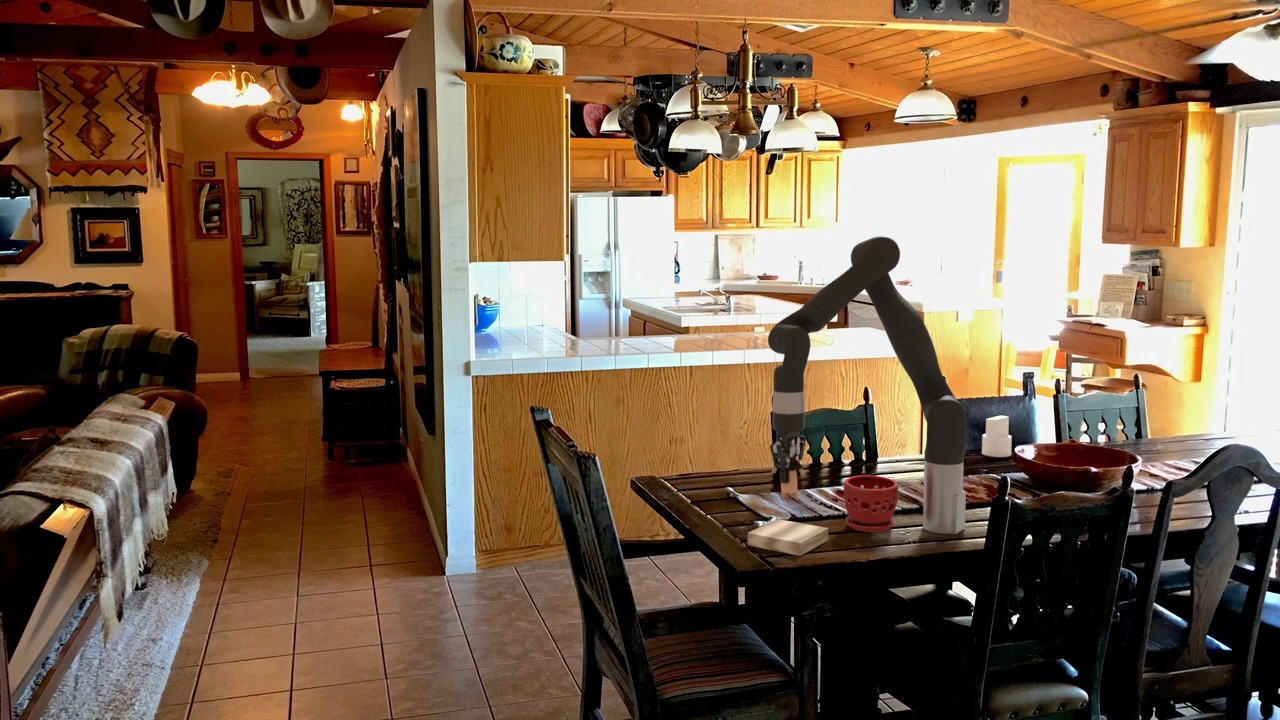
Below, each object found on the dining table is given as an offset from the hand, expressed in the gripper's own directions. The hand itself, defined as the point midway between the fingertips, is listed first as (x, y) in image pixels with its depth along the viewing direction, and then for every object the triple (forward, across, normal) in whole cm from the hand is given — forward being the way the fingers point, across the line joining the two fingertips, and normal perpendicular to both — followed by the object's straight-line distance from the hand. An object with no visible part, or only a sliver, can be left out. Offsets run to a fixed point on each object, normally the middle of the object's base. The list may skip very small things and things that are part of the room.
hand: (788, 481), depth 242 cm
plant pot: (+15, +22, -11) cm, 29 cm away
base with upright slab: (+15, +121, -10) cm, 122 cm away
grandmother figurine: (+4, 0, 0) cm, 4 cm away
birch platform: (+15, 0, 0) cm, 15 cm away
